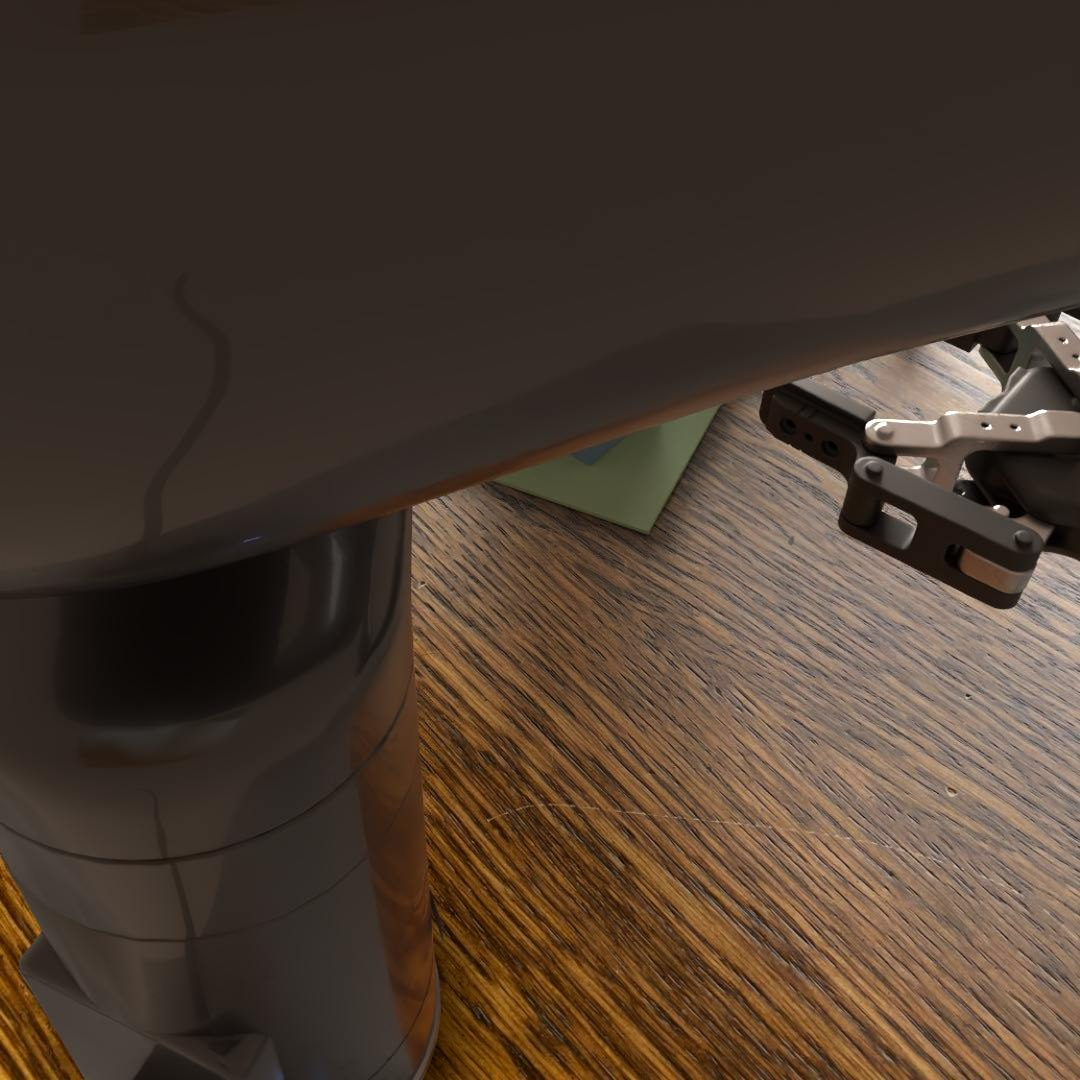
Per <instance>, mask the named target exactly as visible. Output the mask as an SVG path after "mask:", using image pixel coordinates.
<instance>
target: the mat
mask: <svg viewBox="0 0 1080 1080" xmlns="http://www.w3.org/2000/svg"><path fill="white" fill-rule="evenodd" d="M721 406H722V404H721V405H718V406H715V407H712V408H709V409H706V410H703V411H700V412H696V413H693V414H690V415H687V416H684V417H681V418H678V419H675V420H672V421H669V422H665V423H662V424H659V425H656V426H653V427H650V428H647V429H644V430H641V431H638V432H635V433H632V434H629V435H627V436H626V437H625V438H624V439H622V440H621V441H620V442H619V443H618V444H616V445H615V446H614V447H613V448H612V449H610V450H609V451H608V452H607V453H605V454H604V455H603V456H602V457H601V458H599V459H598V460H597V461H596V462H595V463H593V464H592V465H591V466H590V465H588V464H586V463H584V462H583V461H581V460H579V459H578V458H576V457H574V456H572V455H571V454H569V455H566V456H562V457H559V458H556V459H553V460H550V461H547V462H544V463H541V464H538V465H535V466H532V467H529V468H526V469H523V470H520V471H517V472H514V473H511V474H508V475H505V476H502V477H499V478H496V479H493V480H490V482H494V483H496V484H500V485H503V486H506V487H509V488H512V489H515V490H517V491H519V492H523V493H526V494H528V495H532V496H535V497H538V498H541V499H543V500H546V501H549V502H552V503H555V504H558V505H560V506H564V507H566V508H570V509H572V510H575V511H578V512H581V513H584V514H587V515H589V516H593V517H596V518H599V519H601V520H603V521H607V522H610V523H613V524H616V525H618V526H622V527H624V528H627V529H630V530H633V531H636V532H639V533H641V534H645V535H646V536H647V535H648V536H649V534H650V531H651V530H652V529H653V526H654V525H655V523H656V521H657V519H658V517H659V516H660V514H661V512H662V510H663V509H664V507H665V505H666V504H667V502H668V500H669V498H670V497H671V494H672V493H673V491H674V489H675V488H676V486H677V484H678V483H679V480H680V479H681V477H682V475H683V473H684V472H685V470H686V468H687V466H688V464H690V461H691V459H692V457H693V456H694V454H695V452H696V450H697V448H698V446H699V445H700V443H701V441H702V440H703V438H704V436H705V435H706V432H707V431H708V429H709V427H710V426H711V423H712V422H713V420H714V418H715V416H716V415H717V413H718V411H719V409H720V408H721Z"/></svg>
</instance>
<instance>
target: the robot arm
mask: <svg viewBox="0 0 1080 1080" xmlns="http://www.w3.org/2000/svg"><path fill="white" fill-rule="evenodd" d="M1062 313H1063V314H1065V315H1068V316H1069V317H1072V318H1074V319H1076V320H1077V321H1080V0H0V857H1V860H2V861H3V863H4V865H5V867H6V868H7V870H8V872H9V874H10V876H11V877H12V879H13V882H14V883H15V885H16V887H17V888H18V890H19V892H20V894H21V896H22V898H23V899H24V901H25V903H26V905H27V907H28V909H29V911H30V912H31V914H32V916H33V918H34V919H35V921H36V924H37V925H38V927H39V929H40V930H41V932H39V934H38V935H37V937H36V938H35V939H34V941H33V942H32V943H31V944H30V946H28V948H27V950H25V952H24V953H23V955H22V956H21V957H20V959H19V961H18V969H19V974H20V976H21V977H22V978H23V979H24V982H25V984H26V985H27V986H28V988H29V990H30V992H31V993H32V995H33V996H34V998H35V1000H36V1001H37V1003H38V1004H39V1007H40V1009H42V1011H43V1013H44V1015H45V1016H46V1018H47V1020H48V1022H49V1023H50V1025H51V1027H52V1028H53V1030H54V1032H55V1033H56V1034H57V1036H58V1037H59V1039H60V1042H62V1045H63V1046H64V1047H65V1049H66V1051H67V1053H68V1055H69V1056H70V1058H71V1059H72V1061H73V1062H74V1064H75V1066H76V1067H77V1069H78V1071H79V1072H80V1074H81V1076H82V1077H83V1079H84V1080H424V1078H425V1077H426V1074H427V1072H428V1069H429V1068H430V1064H431V1061H432V1060H433V1056H434V1053H435V1051H436V1046H437V1041H438V1038H439V1033H440V1026H441V1012H442V1001H441V986H440V985H441V983H440V975H439V970H438V964H437V962H436V957H435V944H434V943H435V942H434V932H433V919H432V914H433V917H434V920H435V924H436V927H437V929H438V932H439V936H440V938H441V942H442V944H443V946H444V945H445V941H444V925H443V923H442V920H441V917H440V914H439V911H438V908H437V905H436V903H435V899H434V896H433V893H432V890H431V887H430V876H429V874H430V873H429V862H428V849H427V831H426V819H425V818H426V817H425V804H424V803H425V802H424V788H423V787H424V786H423V776H422V775H423V774H422V773H423V772H422V760H421V758H422V757H421V745H420V731H419V707H418V705H419V704H418V693H417V692H418V691H417V679H416V675H417V674H416V662H415V661H416V660H415V648H414V647H415V646H414V645H415V644H414V643H415V642H414V641H415V640H414V627H413V626H414V623H413V622H414V621H413V607H412V605H413V604H412V603H413V602H412V571H413V570H412V568H413V567H412V564H413V562H412V561H413V560H412V559H413V558H412V557H413V555H412V554H413V516H414V515H413V514H414V513H413V510H414V509H413V508H414V506H418V505H421V504H424V503H427V502H430V501H433V500H435V499H438V498H443V497H445V496H449V495H451V494H454V493H457V492H460V491H463V490H466V489H469V488H472V487H474V486H478V485H482V484H484V483H487V482H491V480H493V479H496V478H499V477H502V476H505V475H508V474H511V473H514V472H517V471H520V470H523V469H526V468H529V467H532V466H535V465H538V464H541V463H544V462H547V461H550V460H553V459H556V458H559V457H562V456H566V455H569V454H572V453H575V452H578V451H581V450H584V449H587V448H590V447H593V446H596V445H599V444H602V443H605V442H608V441H611V440H614V439H617V438H620V437H623V436H626V435H629V434H632V433H635V432H638V431H641V430H644V429H647V428H650V427H653V426H656V425H659V424H662V423H665V422H669V421H672V420H675V419H678V418H681V417H684V416H687V415H690V414H693V413H696V412H700V411H703V410H706V409H709V408H712V407H715V406H718V405H721V406H722V405H724V404H727V403H731V402H733V401H737V400H739V399H742V398H746V397H750V396H752V395H755V394H759V393H762V396H761V400H760V405H759V408H758V417H759V420H760V421H761V424H763V425H764V426H765V429H766V431H767V432H769V434H770V435H771V436H772V437H773V438H774V439H776V440H778V441H780V442H782V443H784V444H786V445H787V446H790V447H791V448H793V449H795V450H797V451H801V453H802V454H804V455H806V456H808V457H810V458H812V459H814V460H815V461H817V462H819V463H821V464H823V465H825V466H827V467H828V468H831V469H832V470H835V471H836V472H838V473H839V474H840V475H841V476H842V477H843V478H844V479H845V481H846V485H847V486H846V487H847V488H846V492H845V495H844V499H843V503H842V507H841V509H840V511H839V515H838V518H837V526H838V528H839V530H840V531H841V532H842V533H843V534H845V535H846V536H848V537H849V538H852V539H853V540H856V541H858V542H860V543H861V544H864V545H866V546H868V547H869V548H872V549H874V550H875V551H877V552H879V553H882V554H884V555H886V556H888V557H889V558H892V559H893V560H896V561H898V562H900V563H902V564H904V565H906V566H908V567H910V568H912V569H914V570H916V571H918V572H920V573H922V574H924V575H926V576H928V577H930V578H932V579H934V580H936V581H939V582H940V583H943V584H944V585H946V586H949V587H951V588H953V589H954V590H956V591H958V592H961V593H962V594H964V595H967V596H968V597H970V598H973V599H975V600H977V601H979V602H981V603H983V604H985V605H986V606H988V607H991V608H992V609H996V610H1002V611H1005V610H1011V609H1013V608H1015V607H1016V606H1017V604H1018V603H1019V601H1020V599H1021V597H1022V595H1023V592H1024V590H1026V588H1027V587H1028V584H1029V583H1030V580H1031V578H1032V576H1033V574H1034V572H1035V570H1036V567H1037V564H1038V560H1039V558H1040V557H1041V555H1042V553H1043V552H1044V553H1050V554H1056V555H1060V556H1064V557H1066V558H1067V557H1068V558H1070V559H1072V560H1076V561H1077V562H1079V563H1080V338H1079V337H1078V335H1077V334H1076V333H1075V331H1074V330H1073V329H1072V328H1071V327H1070V326H1069V325H1068V323H1066V322H1065V321H1062V320H1061V321H1059V320H1060V317H1061V315H1062ZM940 342H944V343H947V344H949V345H950V346H952V347H955V348H957V349H960V350H961V351H963V352H965V353H968V354H970V353H971V352H972V351H973V350H974V349H975V348H976V347H977V346H978V345H979V348H978V353H979V355H980V357H981V358H982V360H983V361H984V362H985V364H986V366H988V367H989V369H990V370H991V372H992V373H993V374H994V375H995V377H996V379H998V381H999V383H1000V386H1001V391H1000V393H998V394H996V395H995V396H992V397H990V398H988V399H987V400H986V401H985V402H984V403H983V405H981V407H980V408H979V409H978V410H977V411H965V410H964V411H963V410H951V411H948V412H945V413H944V414H942V415H940V417H939V418H937V419H936V420H933V421H923V420H907V419H905V420H904V419H887V418H877V419H875V417H876V414H877V410H876V409H874V408H871V407H870V406H868V405H866V404H863V403H861V402H860V401H857V400H855V399H853V398H852V397H850V396H847V395H846V394H844V393H842V392H840V391H838V390H835V389H834V388H832V387H829V386H828V385H826V384H823V383H821V382H819V381H817V380H816V379H813V378H811V377H814V376H815V377H816V376H818V375H822V374H825V373H827V372H831V371H834V370H837V369H840V368H845V367H847V366H848V367H849V366H850V365H854V364H857V363H862V362H867V361H870V360H873V359H877V358H880V357H885V356H889V355H893V354H896V353H901V352H905V351H908V350H912V349H916V348H920V347H924V346H928V345H932V344H935V343H936V344H937V343H940ZM898 457H910V458H925V460H924V462H923V463H922V464H920V465H916V466H909V465H896V464H897V460H898ZM963 465H964V466H965V468H966V471H967V473H968V474H969V476H970V477H971V479H960V478H959V475H960V473H961V470H962V467H963ZM885 504H887V505H889V506H891V507H894V508H895V509H898V510H900V511H902V512H904V513H905V514H908V515H910V516H912V517H913V518H914V519H915V522H916V526H913V525H911V524H910V523H908V522H906V521H903V520H901V519H900V518H897V517H895V516H894V515H891V514H889V513H887V512H885V511H883V510H884V507H885Z"/></svg>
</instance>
